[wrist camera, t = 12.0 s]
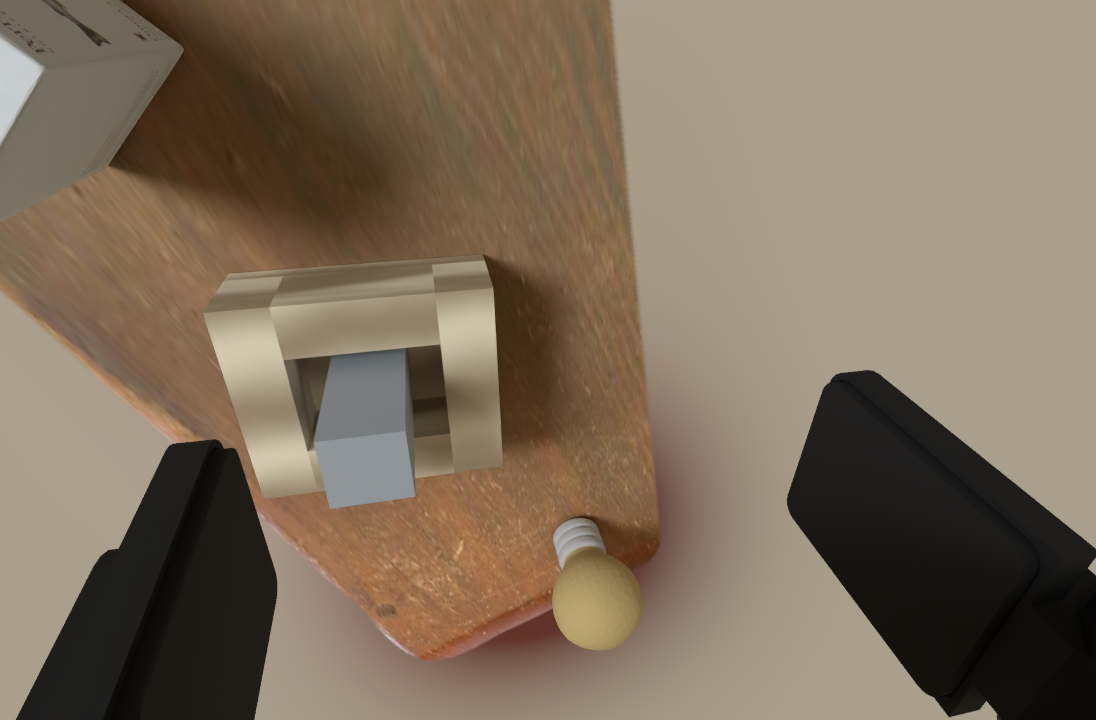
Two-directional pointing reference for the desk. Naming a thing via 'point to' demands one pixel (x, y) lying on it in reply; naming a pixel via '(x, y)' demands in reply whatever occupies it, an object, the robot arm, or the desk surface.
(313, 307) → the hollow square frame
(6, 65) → the supplement box
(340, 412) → the grey rectangular prism
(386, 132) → the desk surface
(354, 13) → the desk surface
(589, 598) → the light bulb
